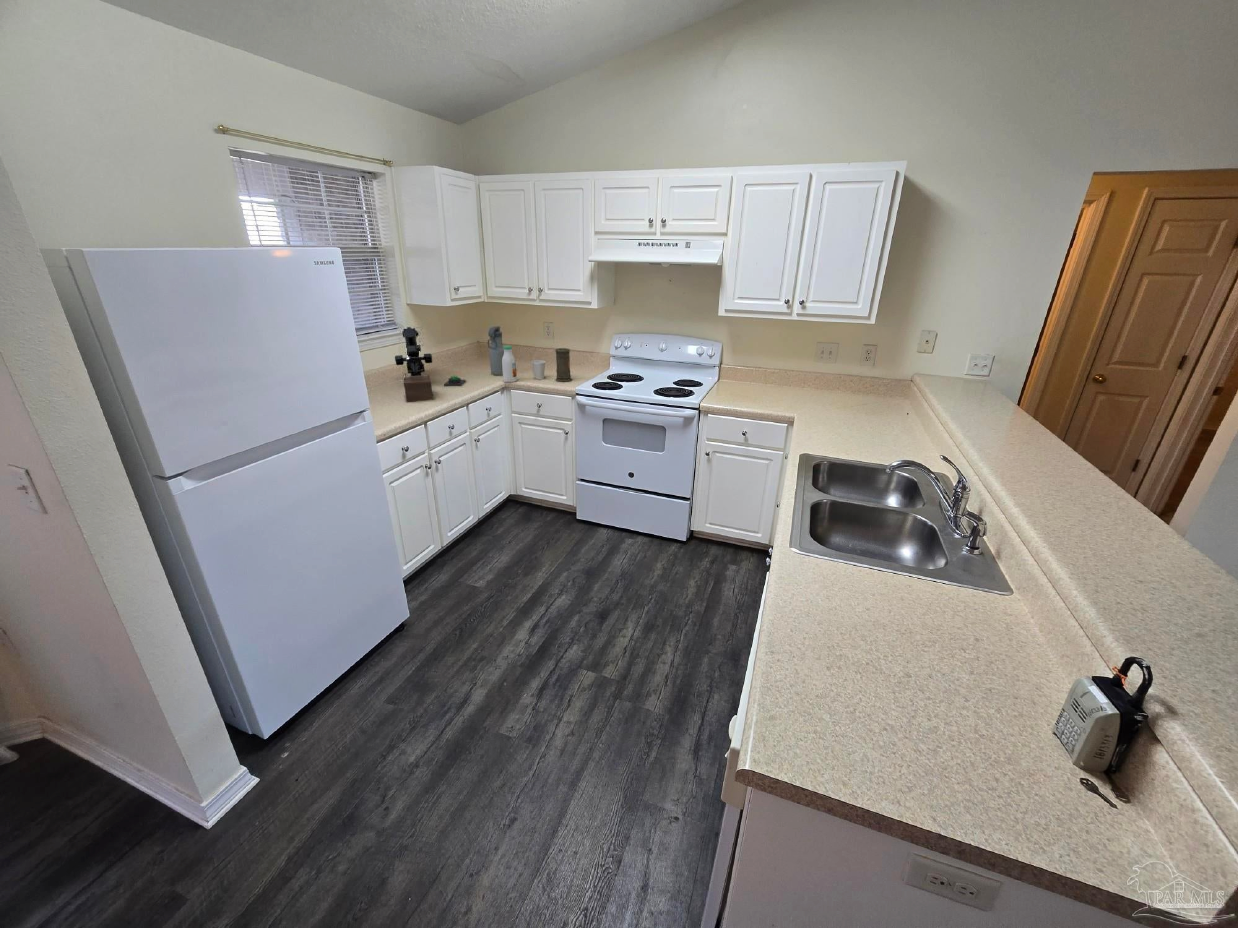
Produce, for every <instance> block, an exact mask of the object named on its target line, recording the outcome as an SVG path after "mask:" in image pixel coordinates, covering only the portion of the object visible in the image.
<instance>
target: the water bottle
mask: <svg viewBox="0 0 1238 928" xmlns="http://www.w3.org/2000/svg"><path fill="white" fill-rule="evenodd" d="M487 336H488V337H489V339H487V348H489V350H488V353H489V365H490V374H491V375H493V376H503V370H502V358H503V355H504V348H503V347H504V345H503V332H502V331H501V326H499V325H497V326H495V325H494V326H492V327H489V329H488V332H487ZM490 344H491V345H490Z"/></svg>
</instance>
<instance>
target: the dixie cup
mask: <svg viewBox="0 0 1238 928" xmlns="http://www.w3.org/2000/svg"><path fill="white" fill-rule="evenodd" d="M546 362H547V361H546V360H542V359H534V360H531V362H530V363H531V366H532V373H533V377H534V379H535V380H544V379H545V371H546Z"/></svg>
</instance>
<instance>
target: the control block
mask: <svg viewBox="0 0 1238 928" xmlns="http://www.w3.org/2000/svg"><path fill="white" fill-rule="evenodd" d="M465 383H466V378H465V379H464V378H463V379H462V378H461V377H459V376H458V379H451V377H449V378H448V380H447V381H446V382H444V384H443V386H444V387H461V386H462V385H463V384H465Z"/></svg>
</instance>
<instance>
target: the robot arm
mask: <svg viewBox="0 0 1238 928" xmlns="http://www.w3.org/2000/svg"><path fill="white" fill-rule="evenodd" d="M401 332H402V337H403V338H404V340H405V341H404V342H405V345H406V348H407V355H408V356H405V357H404V356H403V354H400V355H395V356H394V362H395V366H403V365H404V364H405V362H406V369H407V374H410V376H422V375H423V374H422V373H425V372H426V370H425V364H433V356H432V353H423V355H421V356H420V357H419V351H420V352H422V347H421V344H419V345H417V343H418V341H417V338H418V337H419V335H420V334H419V332H418V330H417V329H416V328H415V327H412V326H407V327H406V328H403V330H402V331H401ZM423 361H424V363H425V364H424V363H423Z"/></svg>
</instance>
